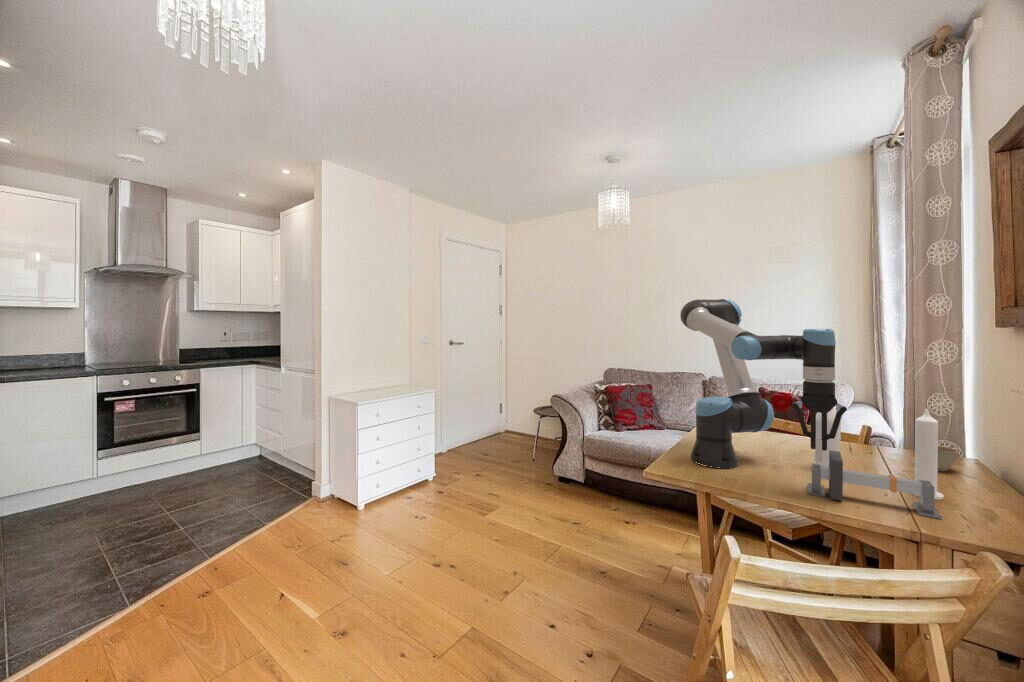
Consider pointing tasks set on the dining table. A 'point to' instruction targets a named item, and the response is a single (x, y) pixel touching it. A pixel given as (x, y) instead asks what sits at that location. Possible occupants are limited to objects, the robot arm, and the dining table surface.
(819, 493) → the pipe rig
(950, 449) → the flower pot
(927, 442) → the candle
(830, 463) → the collar
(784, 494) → the dining table surface
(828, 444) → the water bottle
